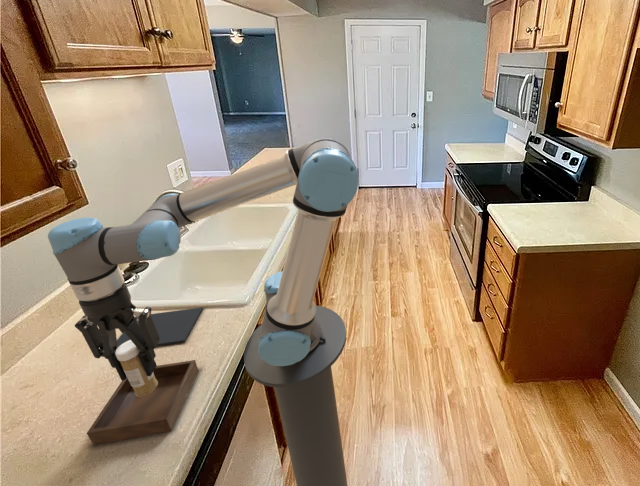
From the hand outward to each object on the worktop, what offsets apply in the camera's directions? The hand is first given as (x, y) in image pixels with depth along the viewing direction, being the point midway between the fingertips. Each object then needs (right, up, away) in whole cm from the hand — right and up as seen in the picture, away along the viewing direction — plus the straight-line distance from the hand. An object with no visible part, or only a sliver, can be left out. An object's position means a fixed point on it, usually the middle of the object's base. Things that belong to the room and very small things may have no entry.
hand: (139, 372), depth 76 cm
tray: (0, -10, +4) cm, 10 cm away
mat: (-14, -1, +26) cm, 30 cm away
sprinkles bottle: (0, -5, +2) cm, 6 cm away
